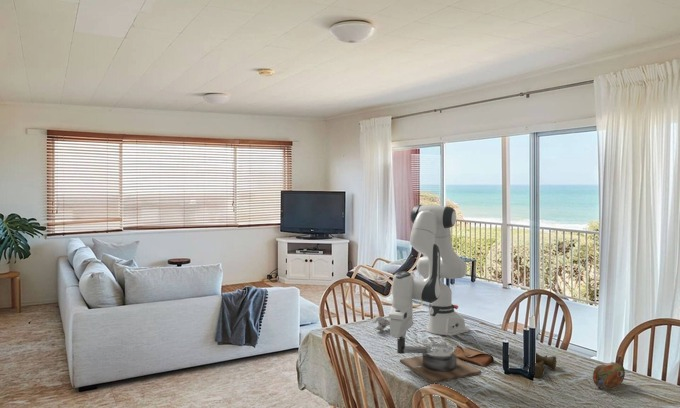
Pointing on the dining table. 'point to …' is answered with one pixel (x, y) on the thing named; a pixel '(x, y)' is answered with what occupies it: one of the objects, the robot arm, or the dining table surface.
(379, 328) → the wrench
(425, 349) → the grey crank handle
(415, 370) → the square wooden board
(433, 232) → the robot arm
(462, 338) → the dining table surface
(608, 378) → the mottled orange oval
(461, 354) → the sunglasses case
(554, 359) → the kendama
